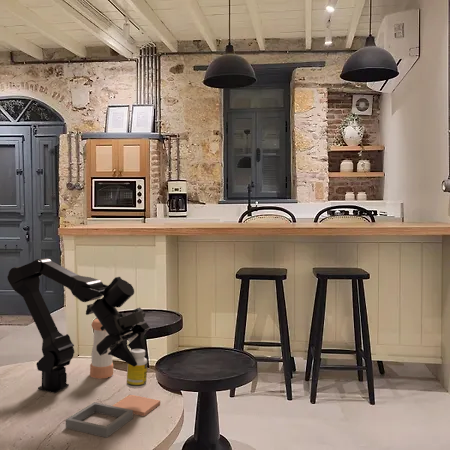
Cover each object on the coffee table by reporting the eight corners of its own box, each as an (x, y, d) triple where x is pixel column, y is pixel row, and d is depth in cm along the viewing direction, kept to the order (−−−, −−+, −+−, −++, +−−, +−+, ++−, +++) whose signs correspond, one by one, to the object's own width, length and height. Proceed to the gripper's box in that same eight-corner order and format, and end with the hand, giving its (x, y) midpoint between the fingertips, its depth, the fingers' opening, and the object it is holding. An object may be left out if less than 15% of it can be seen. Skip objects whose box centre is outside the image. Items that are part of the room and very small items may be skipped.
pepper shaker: (95, 370, 173) (96, 312, 172) (116, 372, 172) (117, 314, 171) (86, 377, 166) (87, 317, 165) (108, 379, 165) (109, 319, 164)
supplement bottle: (147, 388, 143) (148, 353, 142) (127, 389, 141) (128, 354, 141) (145, 381, 148) (146, 347, 147) (125, 382, 147) (127, 347, 146)
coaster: (111, 409, 143) (112, 405, 142) (129, 397, 151) (129, 394, 151) (144, 416, 139) (144, 412, 139) (160, 404, 147) (160, 400, 147)
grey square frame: (65, 427, 130) (65, 419, 130) (94, 410, 142) (94, 402, 142) (106, 437, 126) (106, 428, 126) (132, 418, 137) (132, 410, 137)
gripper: (107, 306, 136) (141, 354, 133) (145, 294, 153) (177, 337, 150) (81, 331, 140) (114, 379, 136) (121, 317, 157) (152, 359, 153)
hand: (141, 362), depth 144 cm, fingers closed on supplement bottle, 5 cm apart
